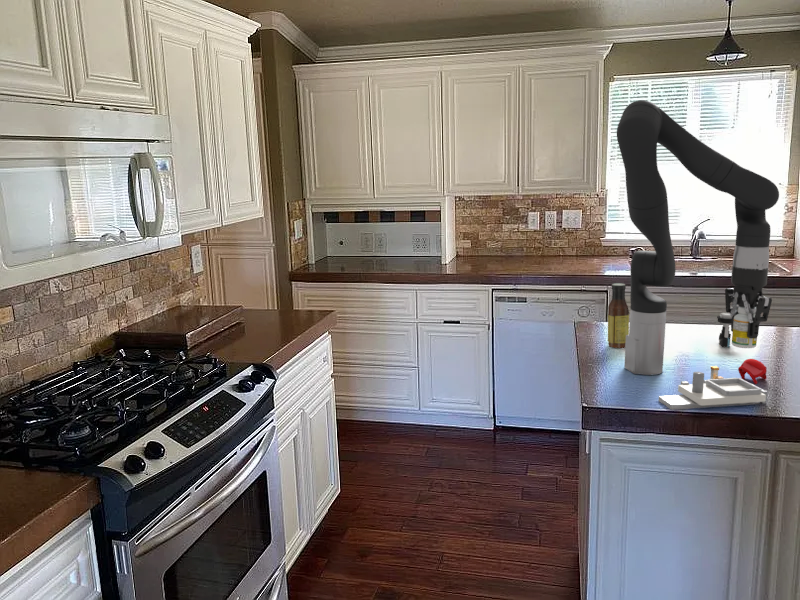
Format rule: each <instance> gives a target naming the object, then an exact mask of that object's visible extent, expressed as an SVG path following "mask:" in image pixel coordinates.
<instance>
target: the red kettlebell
mask: <svg viewBox="0 0 800 600" xmlns="http://www.w3.org/2000/svg"><path fill="white" fill-rule="evenodd" d="M737 369H738V370H737V371H738V374H739V375H740V378H741V379H743V380H745V378H746V374H747V375H748V376H749V377H750V378H751V381H753V383H754V384H753V385H757V384H758V380H757V378H761V379H763V380H767V372H768V371H767V366H766V365H765V364H764V363H763V362H761V360H757V359H755V358H747V359H745V360H743V362H742V363H741V365H740V366H739V367H738V368H737Z"/></svg>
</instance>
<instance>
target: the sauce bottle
mask: <svg viewBox="0 0 800 600" xmlns="http://www.w3.org/2000/svg"><path fill="white" fill-rule="evenodd" d="M611 292H612V295H611V300H610V302H609V303H608V305H607V306H608V308H607V309H608V311H607V312H608V313H607V343H608V345H607V346H608V347H610V348H613V349H620V350H621V349H625V344H626V335H629V326H630V311H629V306H628V304H627V301H626V284H625V283H621V282H620V283H619V282H618V283H612V284H611Z"/></svg>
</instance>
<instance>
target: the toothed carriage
mask: <svg viewBox="0 0 800 600" xmlns="http://www.w3.org/2000/svg"><path fill="white" fill-rule="evenodd" d="M692 373H693V374H692V381H691V383H690V382H689V381H686V380H685V381H681V382H680V384H678V387H677V389H678V390H677V392H679V393H680V394H681V395H685V396H686V397H688V398H690V399H691V400H693V401H694V402H696V403H697V404H699V405H701V406H703V405H719V404H735V403H750V402H759V403H760V402H765V400H766V395H765V394H763V393H761V390H762V389H763V388H761V387H759V386H757V385H756V384H753V383H751V382H748V381H747V380H745V379H742V378H741V377H729V378H728V377H723V376H720V375H718V376H716V377H715V379H710V378H709V379H705V373H704V372H702V371H693V372H692Z"/></svg>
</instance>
